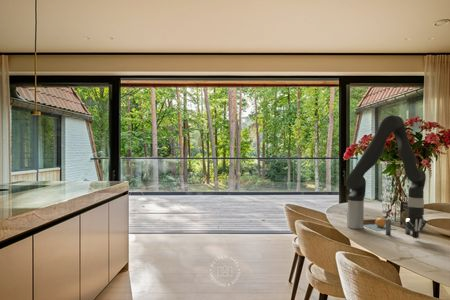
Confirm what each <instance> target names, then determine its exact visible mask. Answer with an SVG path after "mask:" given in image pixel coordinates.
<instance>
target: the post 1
mask: <svg viewBox="0 0 450 300" xmlns="http://www.w3.org/2000/svg"><path fill="white" fill-rule="evenodd" d="M385 221H386V225H385V226H386V230H385V236H392V234H391V232H392V230H391V228H392V219H390V218H385Z"/></svg>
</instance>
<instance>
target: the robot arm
mask: <svg viewBox="0 0 450 300" xmlns="http://www.w3.org/2000/svg"><path fill="white" fill-rule="evenodd" d="M392 134H393V135H394V137H395V141H396V144H397V152H398V155H399V158H400V159H401V161H402V162H401V163H402V164H403V169H404V173H405V176H406V178H407V180H408V181H409V182H411V185H410V186H409V187H408V198H407V201H408V214H409V216H408V219H407V220H405V221H404V222H405V224H406V225H407V227H408V228H409V229H410V230H411V232H412V238H413V239H419V236H420V231H422V230H424V228H425V226H426V225H427V223H428V221H427V220H425V219H424V215H425V200H424V197H425V196H424V195H425V194H424V189H425V186H426V185H425V184H426V182H427V180H426V179H427V177H426V176H427V175H426V172H425V171H424V170H423V169H421V168H418V165H417V163H418V159H417V156H416V154H415V152H414V150H413V148H412V146H411V143H410V140H409V137H408V133H407V131H406V127H405V122H404V120H403V118H402V117H401V116H399V115H394V114H388V115H386V116H384V117H383V118H382V120H381V122H380V123H379V126H378V128H377V130H376V132H375V135H374V136H373V137H372V139H370V142H369V144H368V145H367V146H366V148H365V150H364V151H363V154H362V155H361V156H360V159H358V162H357V163H356V165H355V166H354V168H353V169H352V170H351V172H350V173H349V174H348V176H347V177H346V179H345V186H346V188H347V189H349V190H351V191H350V193H349V194H348V195H347V213H346V214H347V215H346V226H347V227H348V228H350V229H353V230H361V229H362V230H363V229H364V226H363V225H364V224H363V223H364V216H365V214H364V211H365V203H364V201H365V196H366V189H367V188H366V187H367V186H366V184H367V183H366V179H365V177H364V176H365V174H367V172H368V171H369V170H370V169H372V168H374V166H375V165H376V164H377V163H378V162H379V160H380V159H381V157H382V156H383V153H384V151H385V146H386V143H387V140H388V138H389V137H390V135H392ZM410 223H411V224H410Z"/></svg>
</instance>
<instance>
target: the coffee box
mask: <svg viewBox="0 0 450 300" xmlns="http://www.w3.org/2000/svg"><path fill="white" fill-rule="evenodd" d="M399 208H400V209H399V210H400V211H399V212H400V214H399V215H400V216H399V219H400V220H399V221H400V223H399V227H400V226H402V228H404V227H405V222H404V221H405V220H406V218H408V216H409V214H408V200H405V201H403V200H402V201H400V206H399Z"/></svg>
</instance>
